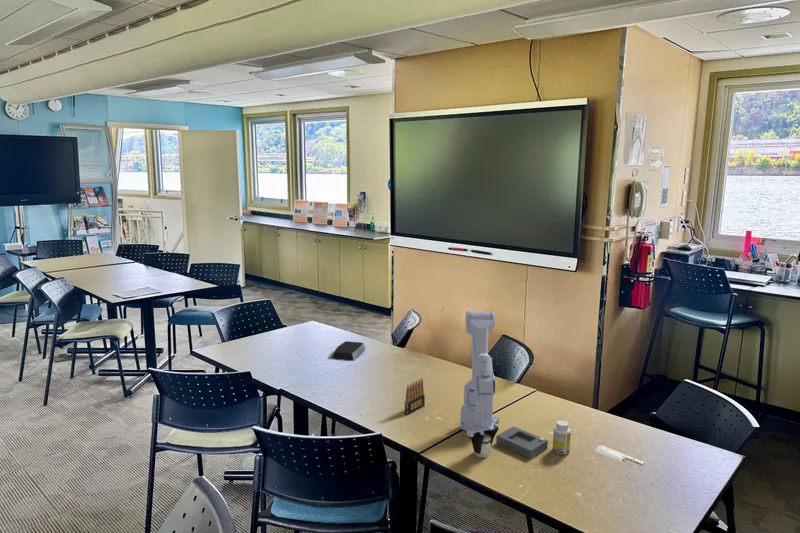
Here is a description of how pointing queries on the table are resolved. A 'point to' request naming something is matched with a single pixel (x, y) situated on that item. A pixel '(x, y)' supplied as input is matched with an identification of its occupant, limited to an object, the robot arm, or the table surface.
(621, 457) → the white plastic blade
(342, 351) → the external hard drive
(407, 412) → the ammunition clip
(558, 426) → the supplement bottle
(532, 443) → the grey panel with knob
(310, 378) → the table surface
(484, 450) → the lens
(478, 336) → the robot arm
